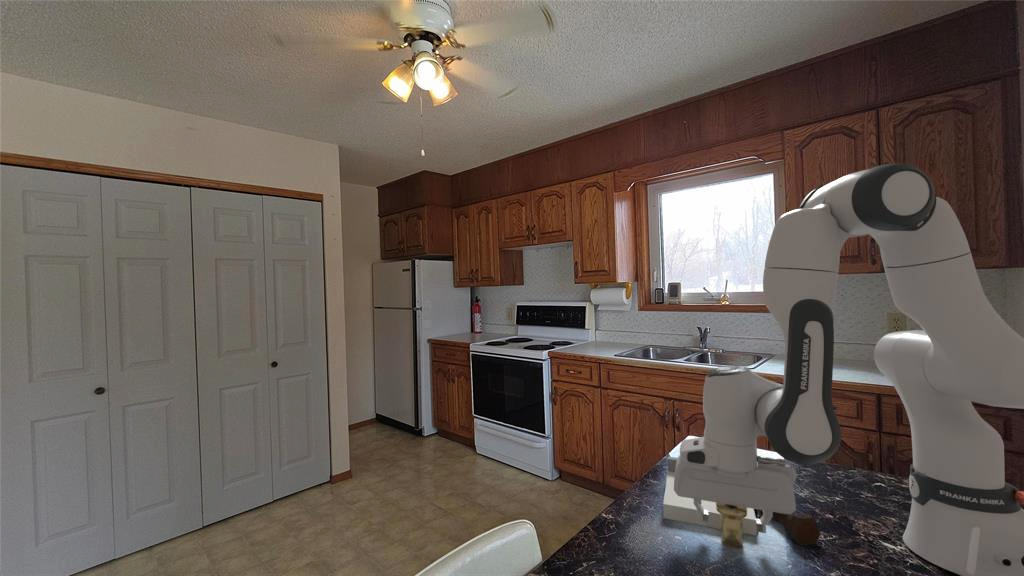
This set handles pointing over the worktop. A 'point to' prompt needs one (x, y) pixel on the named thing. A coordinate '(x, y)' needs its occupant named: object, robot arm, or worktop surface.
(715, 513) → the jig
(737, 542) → the bushing
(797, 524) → the bolt
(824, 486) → the worktop surface
